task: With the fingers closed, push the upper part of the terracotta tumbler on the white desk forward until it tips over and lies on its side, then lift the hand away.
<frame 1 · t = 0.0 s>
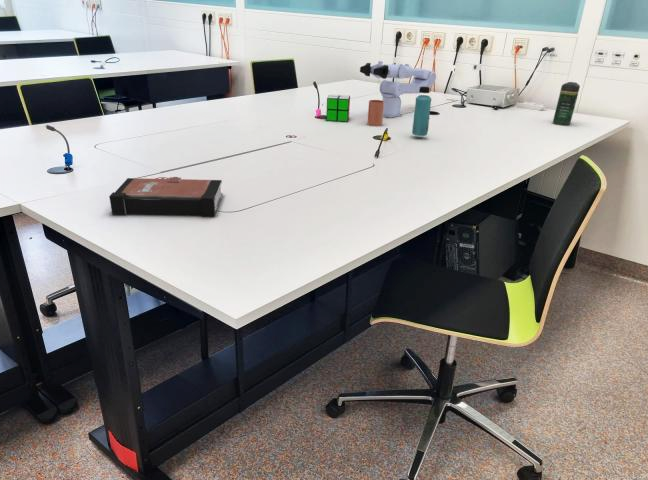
hand: (367, 70, 240), 22 cm above the table, tool horizontal, fingers open, 7 cm apart
beverage bottle: (418, 138, 225), on the table
cup: (374, 124, 245), on the table
puzzle cube: (337, 119, 252), on the table
book: (170, 205, 148), on the table
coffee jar: (561, 123, 260), on the table
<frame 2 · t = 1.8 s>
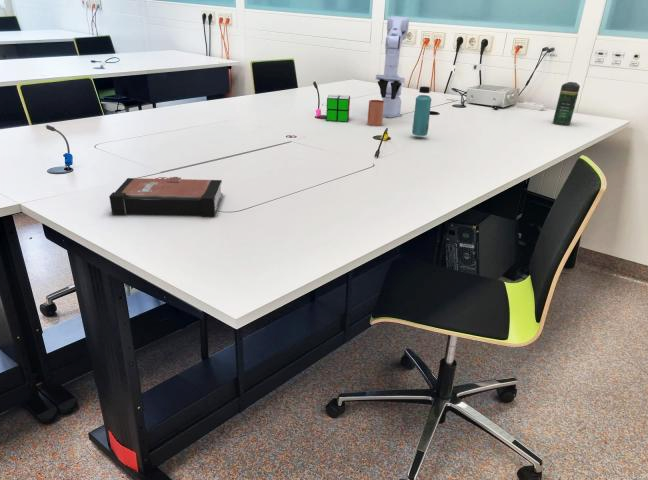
hand: (388, 98, 245), 10 cm above the table, tool pointing down, fingers open, 5 cm apart
nothing on the table moved.
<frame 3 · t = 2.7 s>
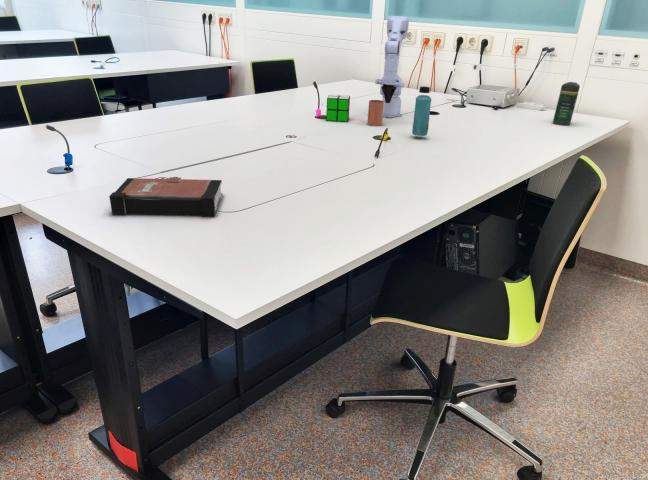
hand: (387, 102, 246), 8 cm above the table, tool pointing down, fingers closed
nothing on the table moved.
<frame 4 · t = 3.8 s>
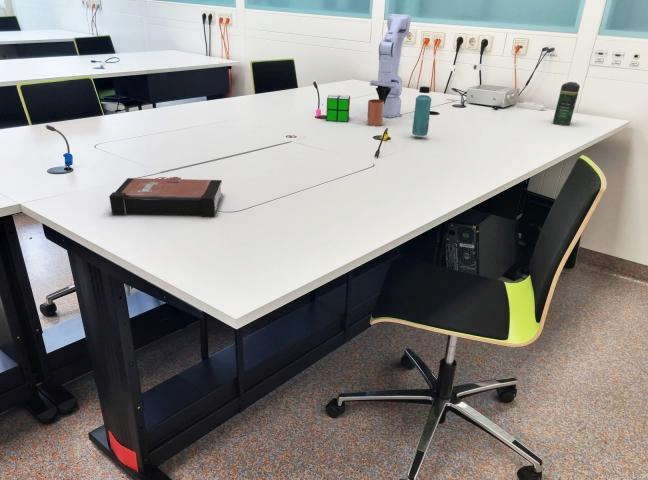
hand: (382, 104, 244), 8 cm above the table, tool pointing down, fingers closed, pressing on cup
cup: (374, 123, 245), on the table, touching gripper
everything else where it was.
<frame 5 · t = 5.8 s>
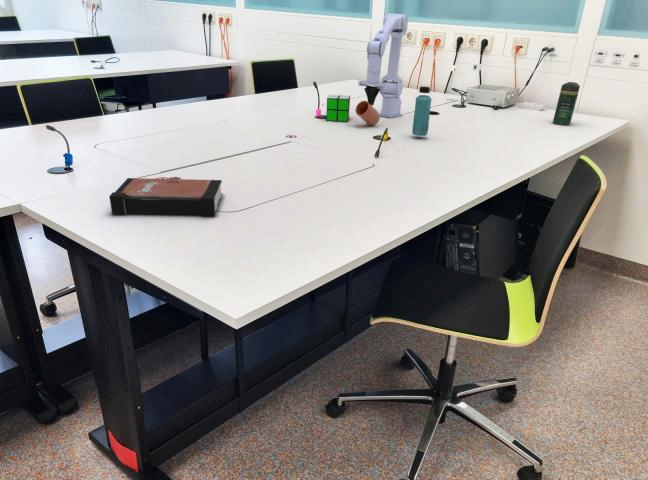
hand: (370, 105, 238), 9 cm above the table, tool pointing down, fingers closed on cup
cup: (373, 118, 242), point 3 cm above the table, tilted 57°, touching gripper
everything else where it was.
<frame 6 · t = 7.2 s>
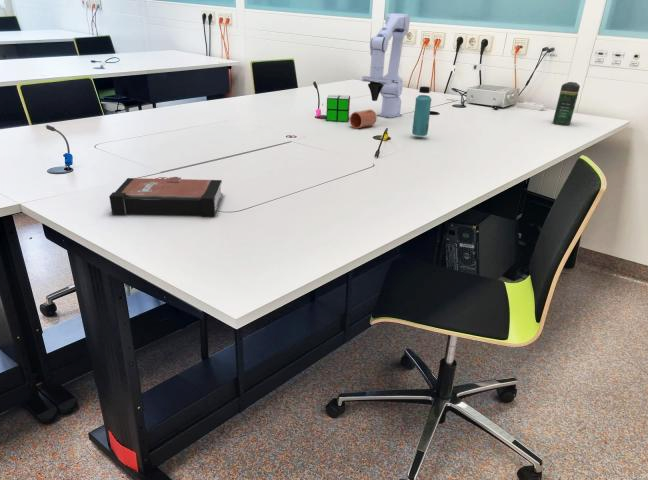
hand: (374, 100, 240), 10 cm above the table, tool pointing down, fingers closed
cup: (370, 117, 241), point 3 cm above the table, tilted 90°
everything else where it was.
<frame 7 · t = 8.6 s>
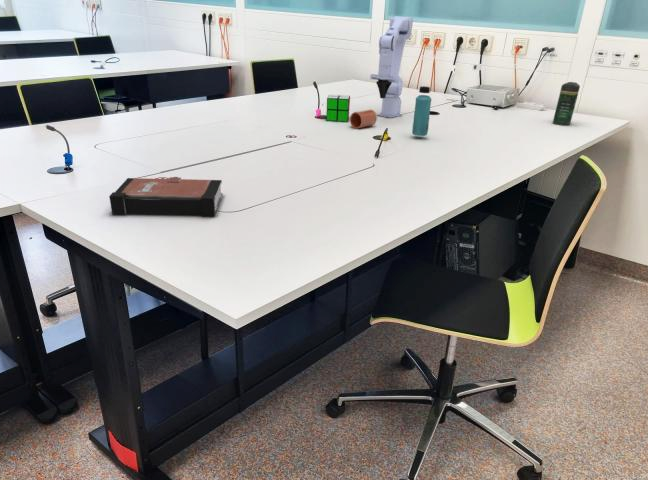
hand: (382, 98, 245), 10 cm above the table, tool pointing down, fingers closed
nothing on the table moved.
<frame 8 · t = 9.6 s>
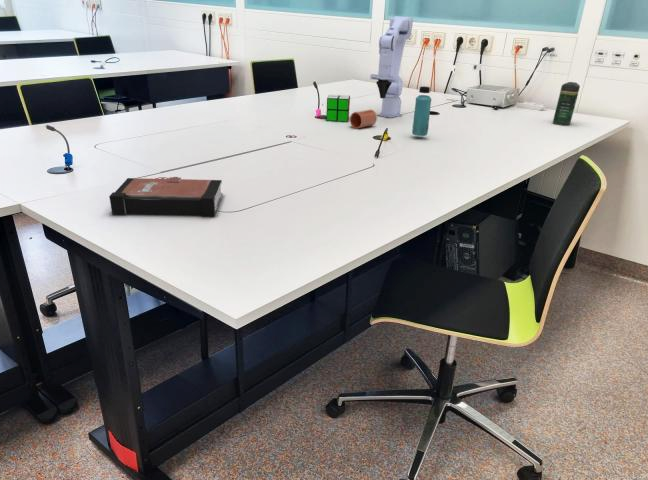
hand: (382, 98, 245), 10 cm above the table, tool pointing down, fingers closed
nothing on the table moved.
at the end: cup tilted 90°; cup inside the target area (2.5 cm from its centre), point 3.4 cm above the table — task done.
